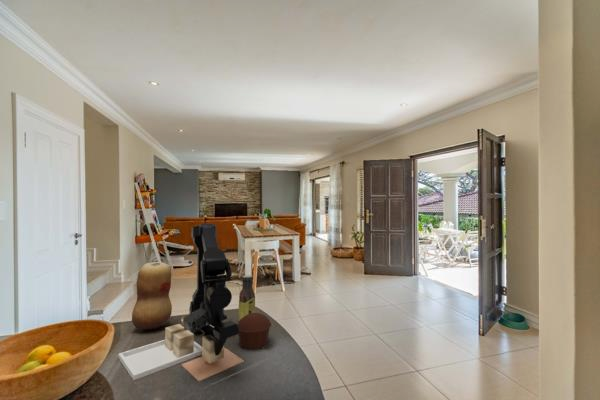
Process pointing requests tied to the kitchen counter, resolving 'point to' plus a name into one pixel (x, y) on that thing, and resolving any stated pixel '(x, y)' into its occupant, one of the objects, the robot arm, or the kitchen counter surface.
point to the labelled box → (210, 350)
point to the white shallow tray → (153, 359)
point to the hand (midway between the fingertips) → (213, 351)
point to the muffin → (254, 331)
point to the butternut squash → (152, 296)
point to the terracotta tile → (211, 365)
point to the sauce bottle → (246, 297)
